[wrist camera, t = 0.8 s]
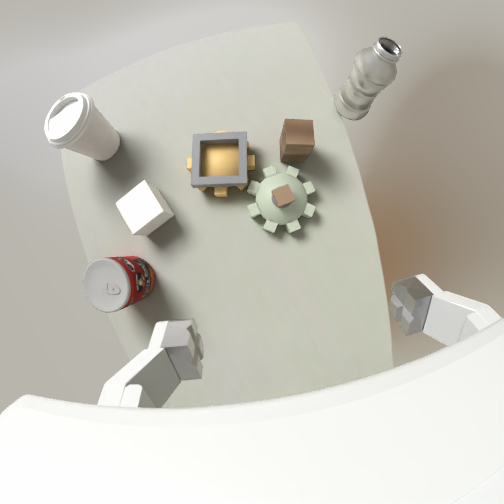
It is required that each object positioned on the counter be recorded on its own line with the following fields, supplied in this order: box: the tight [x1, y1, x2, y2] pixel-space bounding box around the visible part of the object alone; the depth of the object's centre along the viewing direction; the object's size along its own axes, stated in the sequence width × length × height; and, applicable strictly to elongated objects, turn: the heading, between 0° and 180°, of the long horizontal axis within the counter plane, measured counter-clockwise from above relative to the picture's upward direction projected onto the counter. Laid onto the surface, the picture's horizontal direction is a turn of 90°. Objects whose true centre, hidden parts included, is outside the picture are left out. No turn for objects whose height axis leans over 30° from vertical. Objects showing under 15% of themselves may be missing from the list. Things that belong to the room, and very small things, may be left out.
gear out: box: [187, 131, 255, 197], centre depth 42 cm, size 11×11×4 cm
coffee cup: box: [45, 93, 120, 161], centre depth 37 cm, size 10×10×15 cm
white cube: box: [116, 180, 174, 236], centre depth 42 cm, size 6×6×6 cm
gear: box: [247, 165, 316, 233], centre depth 42 cm, size 11×11×5 cm
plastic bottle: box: [334, 37, 402, 120], centre depth 34 cm, size 6×7×20 cm
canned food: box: [83, 256, 154, 313], centre depth 39 cm, size 8×8×11 cm
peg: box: [280, 119, 315, 162], centre depth 40 cm, size 4×4×8 cm
